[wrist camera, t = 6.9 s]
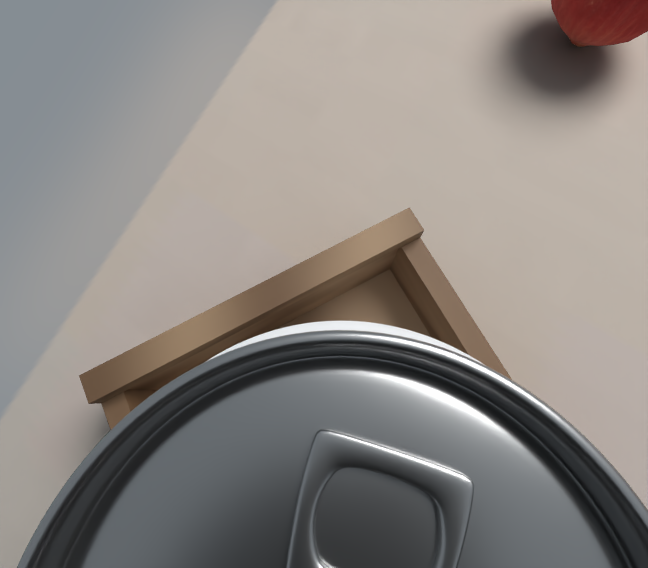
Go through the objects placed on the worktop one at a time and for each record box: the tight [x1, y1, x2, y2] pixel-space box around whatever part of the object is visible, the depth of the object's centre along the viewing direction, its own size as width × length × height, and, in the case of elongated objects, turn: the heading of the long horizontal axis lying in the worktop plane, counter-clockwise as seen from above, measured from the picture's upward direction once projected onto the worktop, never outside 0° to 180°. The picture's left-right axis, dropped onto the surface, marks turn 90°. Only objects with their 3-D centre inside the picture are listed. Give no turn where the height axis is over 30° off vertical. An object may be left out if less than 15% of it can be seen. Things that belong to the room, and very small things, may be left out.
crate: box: [79, 208, 512, 429], centre depth 14 cm, size 13×13×4 cm
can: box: [17, 321, 648, 568], centre depth 9 cm, size 6×6×12 cm
